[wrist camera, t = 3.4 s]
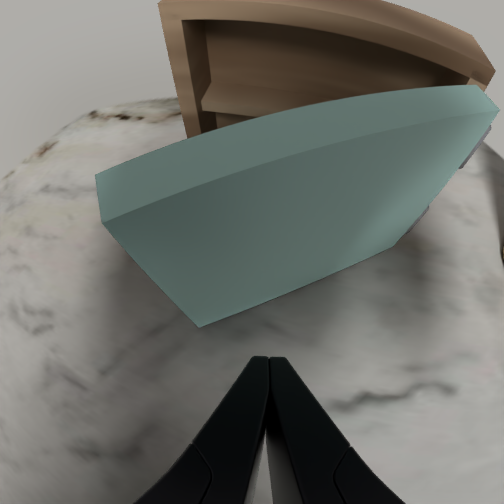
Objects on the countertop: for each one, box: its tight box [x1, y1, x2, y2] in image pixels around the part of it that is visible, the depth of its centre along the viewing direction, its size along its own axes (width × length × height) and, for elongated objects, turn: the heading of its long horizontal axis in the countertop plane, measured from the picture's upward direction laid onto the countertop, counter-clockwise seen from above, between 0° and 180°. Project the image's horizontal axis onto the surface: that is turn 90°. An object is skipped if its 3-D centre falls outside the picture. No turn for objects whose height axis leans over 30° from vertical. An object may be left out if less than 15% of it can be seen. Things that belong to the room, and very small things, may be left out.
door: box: [95, 85, 500, 328], centre depth 11 cm, size 1×12×11 cm, turn 112°
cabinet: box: [158, 0, 495, 138], centre depth 13 cm, size 3×12×12 cm, turn 77°
